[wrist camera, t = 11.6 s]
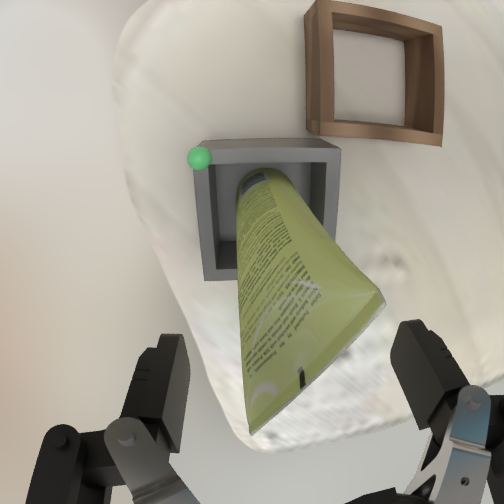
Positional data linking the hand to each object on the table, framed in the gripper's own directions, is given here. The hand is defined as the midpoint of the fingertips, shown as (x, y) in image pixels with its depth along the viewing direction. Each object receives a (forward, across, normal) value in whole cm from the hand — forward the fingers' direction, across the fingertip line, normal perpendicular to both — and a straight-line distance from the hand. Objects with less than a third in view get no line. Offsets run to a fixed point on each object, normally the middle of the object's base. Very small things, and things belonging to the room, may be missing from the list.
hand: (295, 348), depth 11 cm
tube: (+18, 0, 0) cm, 18 cm away
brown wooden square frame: (+19, -9, -11) cm, 23 cm away
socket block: (+19, 0, 0) cm, 19 cm away
